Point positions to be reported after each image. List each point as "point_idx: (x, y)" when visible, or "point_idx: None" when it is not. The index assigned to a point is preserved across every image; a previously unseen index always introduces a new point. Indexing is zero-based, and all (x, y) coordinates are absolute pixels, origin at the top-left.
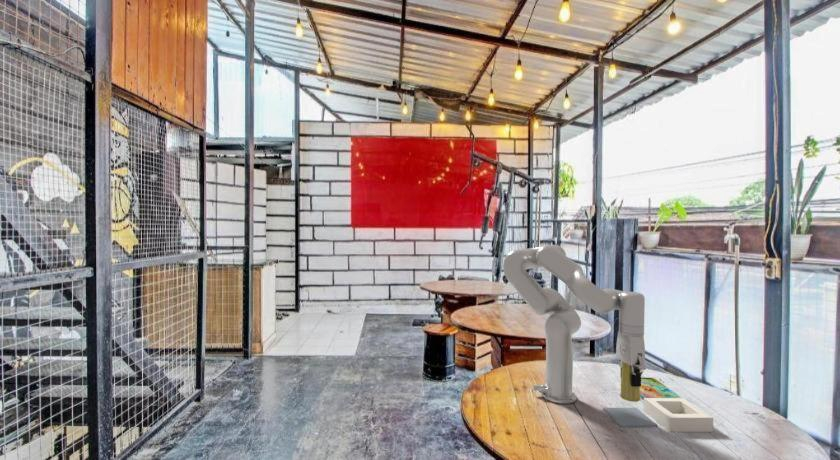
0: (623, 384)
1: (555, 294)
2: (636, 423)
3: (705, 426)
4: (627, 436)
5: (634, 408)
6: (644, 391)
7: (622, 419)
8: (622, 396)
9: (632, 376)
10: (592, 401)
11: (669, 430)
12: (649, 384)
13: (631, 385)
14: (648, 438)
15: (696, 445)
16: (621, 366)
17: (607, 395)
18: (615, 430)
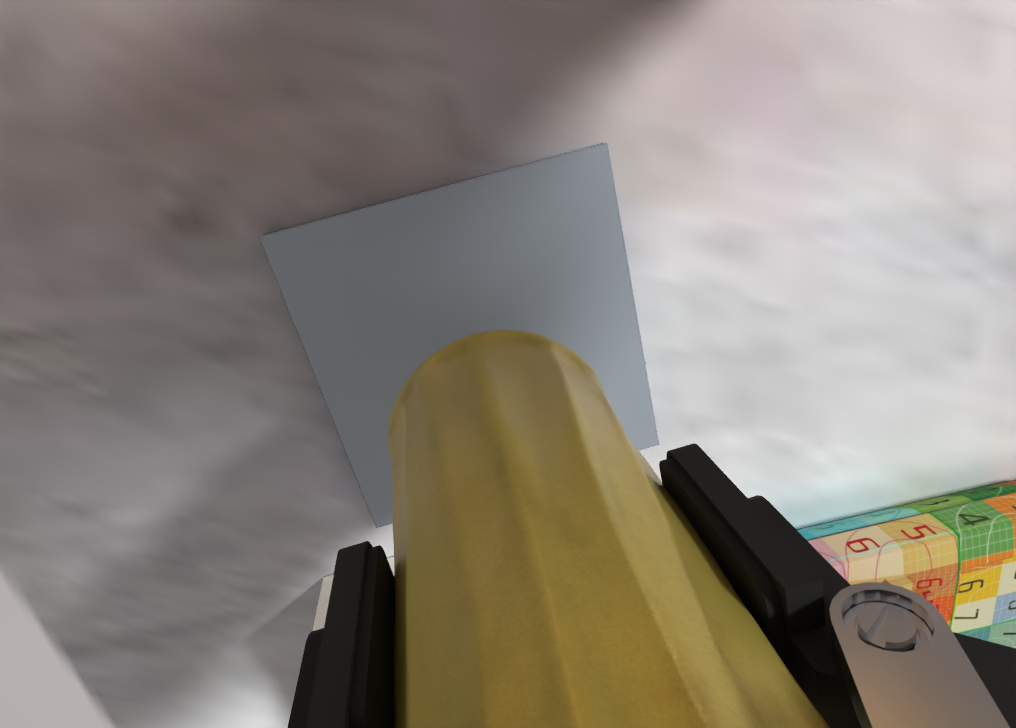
0: (478, 434)
1: None
2: (345, 380)
3: None
4: (82, 248)
5: (639, 427)
6: (850, 575)
7: (387, 278)
8: (456, 350)
9: (316, 711)
10: (767, 73)
11: (324, 581)
12: (995, 631)
13: (340, 552)
14: (132, 413)
15: (177, 679)
16: (831, 608)
17: (902, 261)
18: (162, 161)
